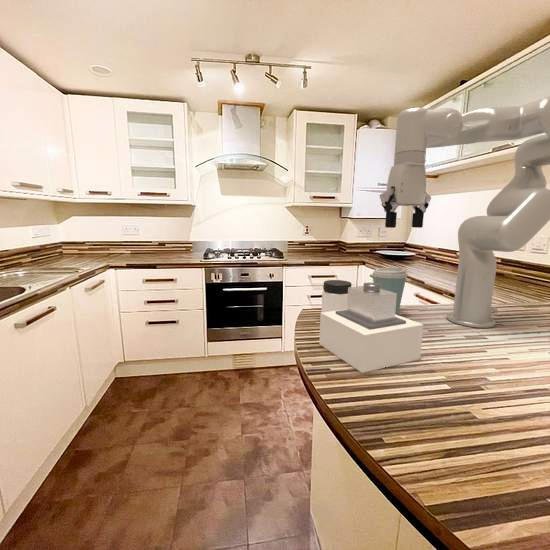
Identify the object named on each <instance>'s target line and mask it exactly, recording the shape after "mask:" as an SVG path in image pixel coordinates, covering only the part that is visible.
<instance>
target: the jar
mask: <svg viewBox="0 0 550 550" xmlns="http://www.w3.org/2000/svg"><path fill="white" fill-rule="evenodd" d="M322 286H323V287H322V288H323V289H322V291H321V292H322V293H321V313H323V312H330V311H338V310H345V309H347V301H348V287H352V286H353V285H352V282H351V281H348V280H341V279H329V280H324V282H323V285H322Z"/></svg>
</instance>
